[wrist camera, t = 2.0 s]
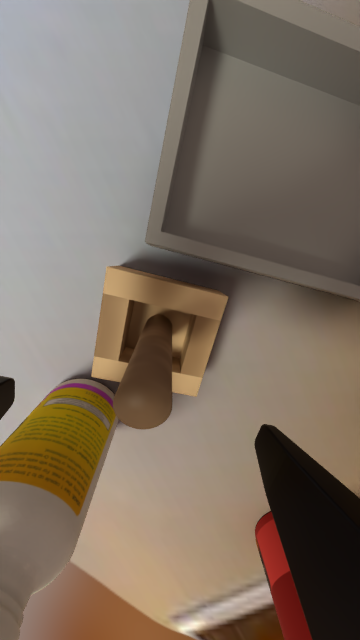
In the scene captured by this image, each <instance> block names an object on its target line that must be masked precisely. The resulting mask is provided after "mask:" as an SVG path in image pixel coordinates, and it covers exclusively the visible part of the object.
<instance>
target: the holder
mask: <svg viewBox="0 0 360 640" xmlns="http://www.w3.org/2000/svg"><path fill="white" fill-rule="evenodd" d="M227 300H228V296H226V295H224V294H223V293H221V292H220V291H218V290H214V289H210V288H206V287H202V286H198V285H194V284H190V283H186V282H182V281H178V280H174V279H170V278H166V277H162V276H158V275H154V274H150V273H146V272H142V271H138V270H134V269H131V268H127V267H123V266H110V267H107V268H106V275H105V282H104V290H103V297H102V304H101V311H100V318H99V325H98V332H97V339H96V346H95V353H94V361H93V368H92V375H91V377H95V378H100V379H106V380H111V381H116V382H121V380H122V377H123V375H124V373H125V370H126V368H127V366H128V364H129V361H130V359H131V357H132V354H133V352H134V350H135V347H136V345H137V343H138V340H139V338H140V336H141V333H142V331H143V329H144V326H145V324H146V322H147V320H148V319H149V318H150V317H151V316H154V315H163V316H166V317H167V318H168V319H169V320H170V321H171V323H172V392H174V393H180V394H185V395H190V396H197V393H198V390H199V387H200V384H201V381H202V378H203V374H204V371H205V368H206V365H207V362H208V359H209V356H210V353H211V350H212V346H213V343H214V340H215V337H216V334H217V331H218V328H219V325H220V322H221V318H222V315H223V312H224V309H225V306H226V303H227Z"/></svg>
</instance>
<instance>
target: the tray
mask: <svg viewBox="0 0 360 640" xmlns="http://www.w3.org/2000/svg"><path fill="white" fill-rule="evenodd" d="M145 242H146V243H147V244H149V245H150V246H154V247H158V248H161V249H165V250H169V251H173V252H176V253H180V254H184V255H188V256H191V257H195V258H199V259H203V260H206V261H210V262H214V263H218V264H221V265H225V266H229V267H233V268H236V269H240V270H244V271H248V272H252V273H255V274H259V275H263V276H267V277H270V278H274V279H278V280H282V281H285V282H289V283H293V284H297V285H300V286H304V287H308V288H312V289H315V290H319V291H323V292H327V293H330V294H334V295H338V296H342V297H345V298H349V299H353V300H357V301H360V26H357V25H355V24H353V23H350V22H348V21H346V20H344V19H341V18H339V17H337V16H334V15H332V14H330V13H327V12H325V11H323V10H321V9H318V8H316V7H314V6H311V5H309V4H307V3H304V2H302V1H300V0H190V3H189V8H188V13H187V19H186V24H185V29H184V35H183V40H182V45H181V51H180V56H179V62H178V67H177V72H176V78H175V83H174V88H173V94H172V99H171V104H170V110H169V115H168V120H167V126H166V131H165V136H164V142H163V147H162V153H161V158H160V163H159V169H158V174H157V179H156V185H155V190H154V195H153V201H152V206H151V211H150V217H149V222H148V227H147V233H146V238H145Z"/></svg>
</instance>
